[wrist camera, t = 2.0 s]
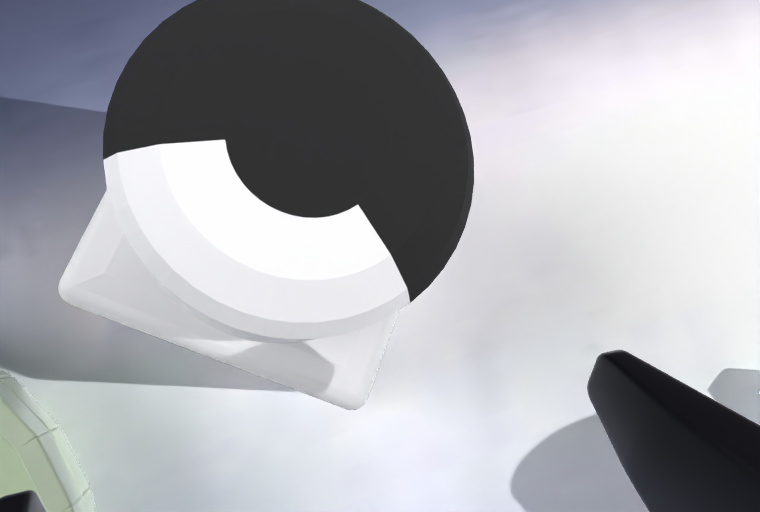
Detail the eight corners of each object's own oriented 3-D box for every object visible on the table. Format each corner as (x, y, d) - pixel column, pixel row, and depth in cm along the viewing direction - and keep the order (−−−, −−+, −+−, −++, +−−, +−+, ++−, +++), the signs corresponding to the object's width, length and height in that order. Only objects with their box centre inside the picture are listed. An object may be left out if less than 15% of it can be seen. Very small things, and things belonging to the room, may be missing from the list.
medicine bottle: (200, 123, 21) (183, -159, 9) (388, 207, 22) (572, 50, 11) (106, 316, 19) (-56, 259, 8) (315, 396, 20) (442, 448, 9)
